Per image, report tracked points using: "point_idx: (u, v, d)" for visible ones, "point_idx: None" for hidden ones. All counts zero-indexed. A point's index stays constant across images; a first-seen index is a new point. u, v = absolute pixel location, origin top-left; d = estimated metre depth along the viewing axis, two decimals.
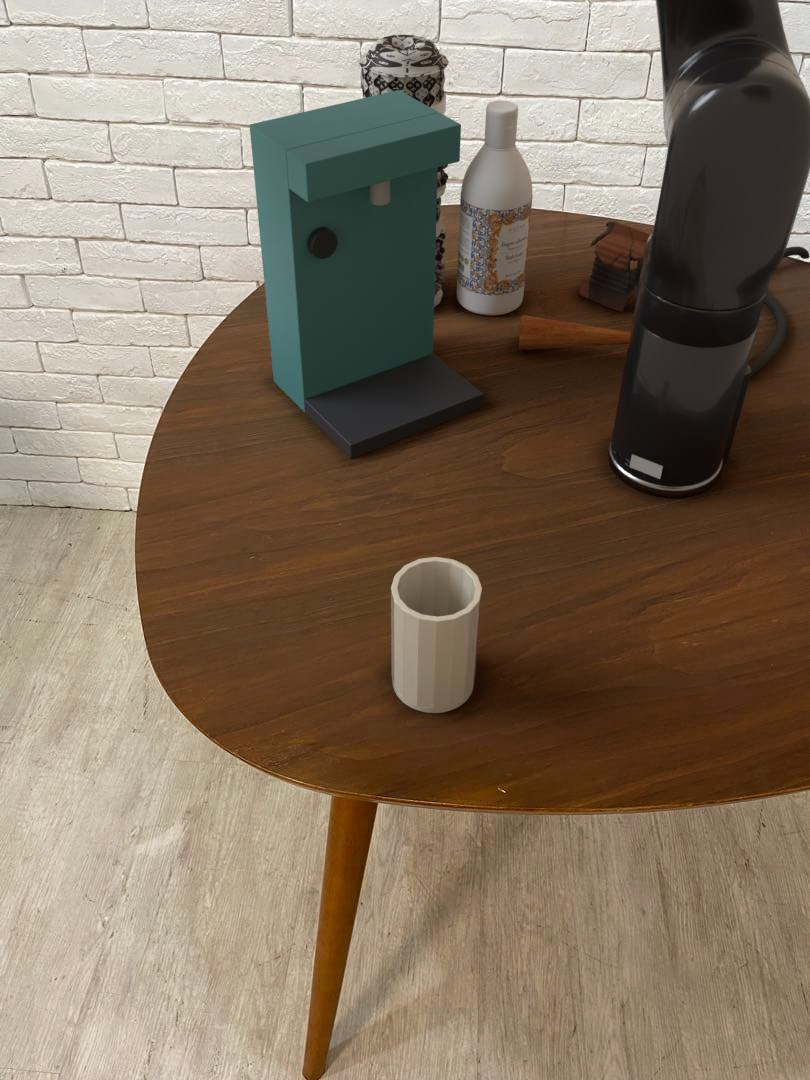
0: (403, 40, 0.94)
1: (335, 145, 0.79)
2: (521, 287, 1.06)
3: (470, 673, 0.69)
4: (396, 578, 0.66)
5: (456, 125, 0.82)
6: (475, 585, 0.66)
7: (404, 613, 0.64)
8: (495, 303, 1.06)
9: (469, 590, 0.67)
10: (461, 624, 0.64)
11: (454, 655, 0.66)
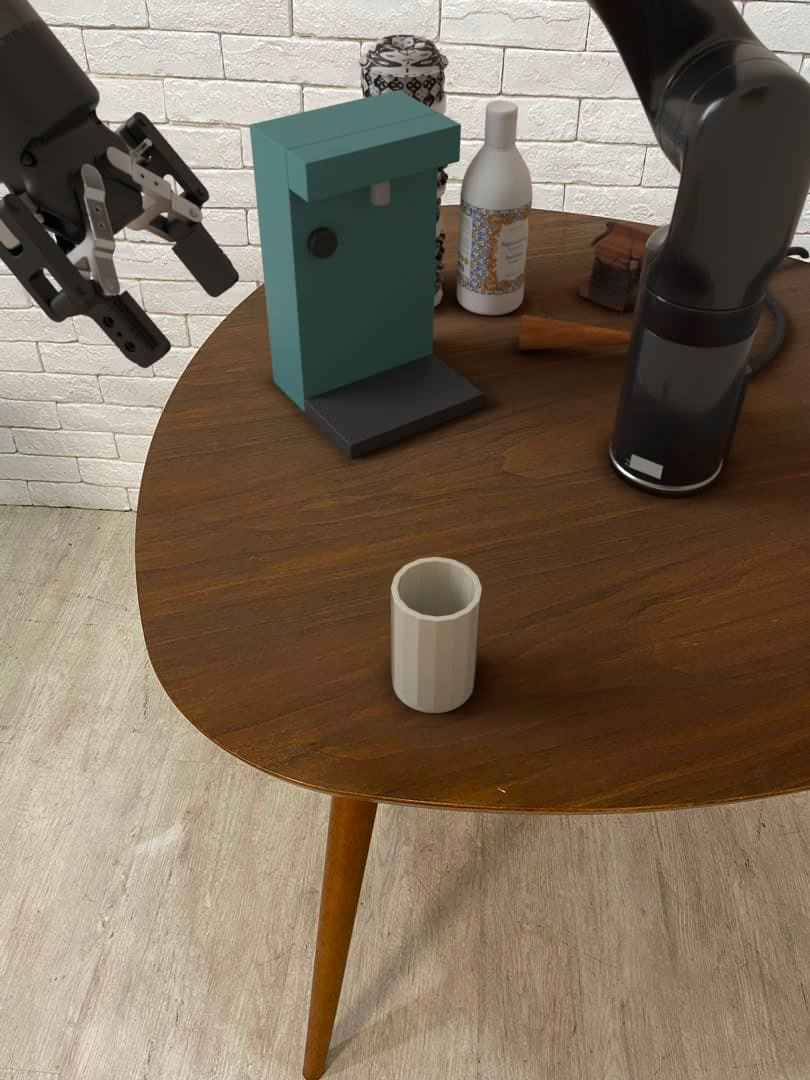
0: (403, 40, 0.94)
1: (335, 145, 0.79)
2: (521, 287, 1.06)
3: (470, 673, 0.69)
4: (396, 578, 0.66)
5: (456, 125, 0.82)
6: (475, 585, 0.66)
7: (404, 613, 0.64)
8: (495, 303, 1.06)
9: (469, 590, 0.67)
10: (461, 624, 0.64)
11: (454, 655, 0.66)
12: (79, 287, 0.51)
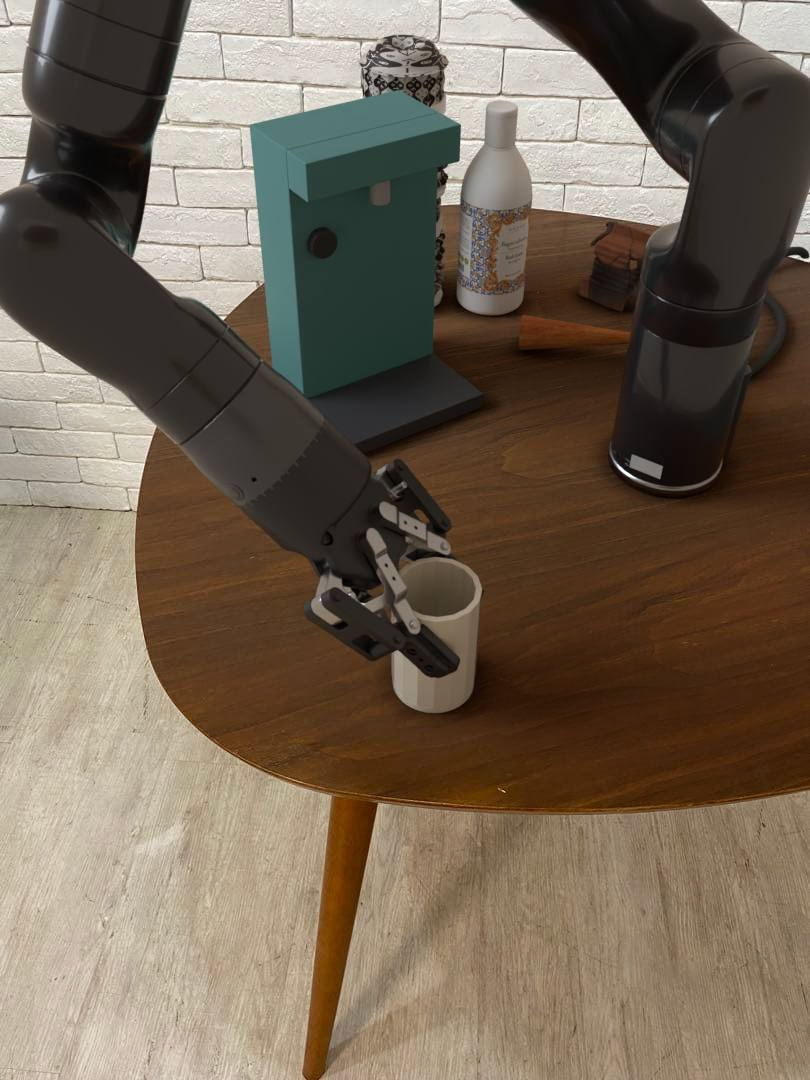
0: (403, 40, 0.94)
1: (335, 145, 0.79)
2: (521, 287, 1.06)
3: (470, 673, 0.69)
4: None
5: (456, 125, 0.82)
6: (475, 585, 0.66)
7: None
8: (495, 303, 1.06)
9: (469, 590, 0.67)
10: (461, 624, 0.64)
11: None
12: (396, 639, 0.61)
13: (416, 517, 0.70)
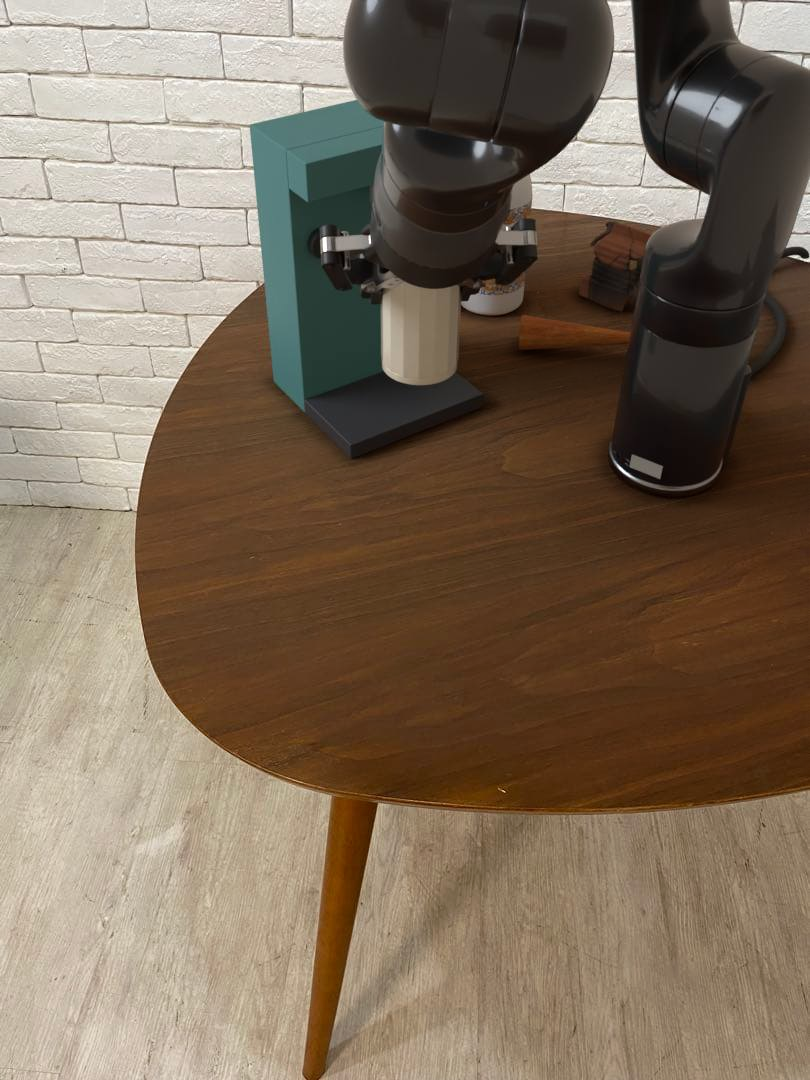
0: None
1: (335, 145, 0.79)
2: (521, 287, 1.06)
3: None
4: None
5: None
6: None
7: None
8: (495, 303, 1.06)
9: None
10: None
11: None
12: None
13: None
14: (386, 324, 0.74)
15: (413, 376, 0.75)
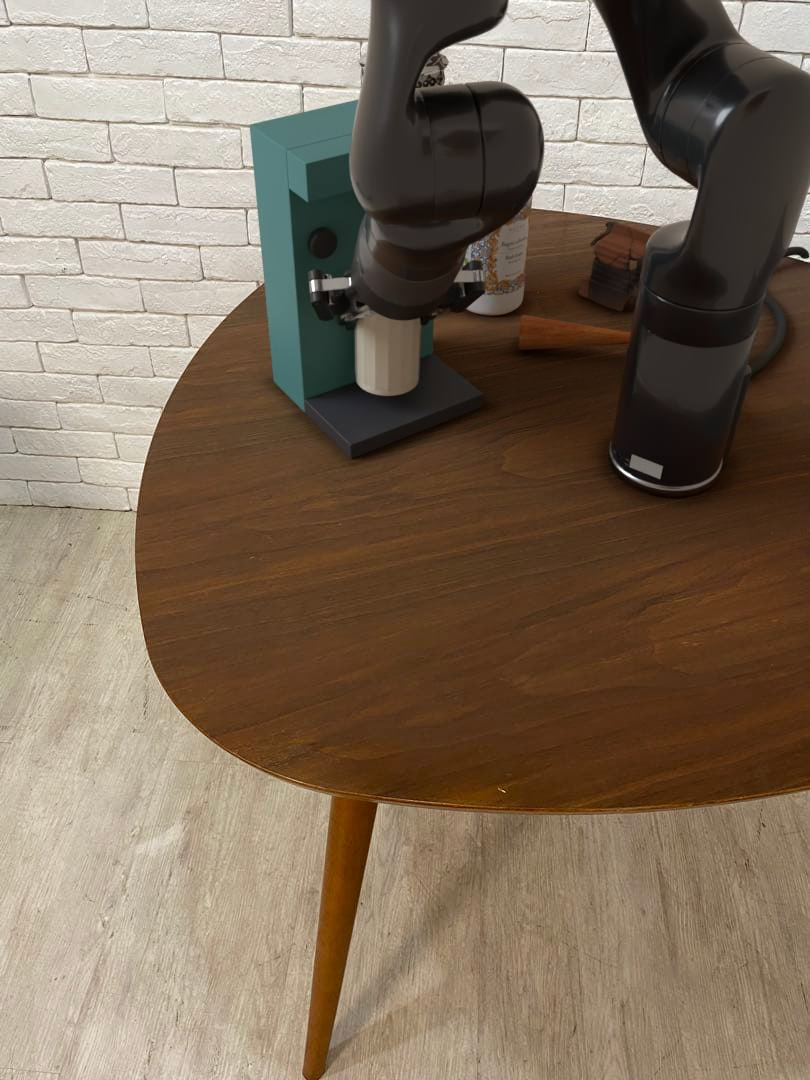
0: None
1: (335, 145, 0.79)
2: (521, 287, 1.06)
3: None
4: None
5: None
6: None
7: None
8: (495, 303, 1.06)
9: None
10: None
11: None
12: None
13: None
14: (360, 346, 0.89)
15: (383, 388, 0.90)
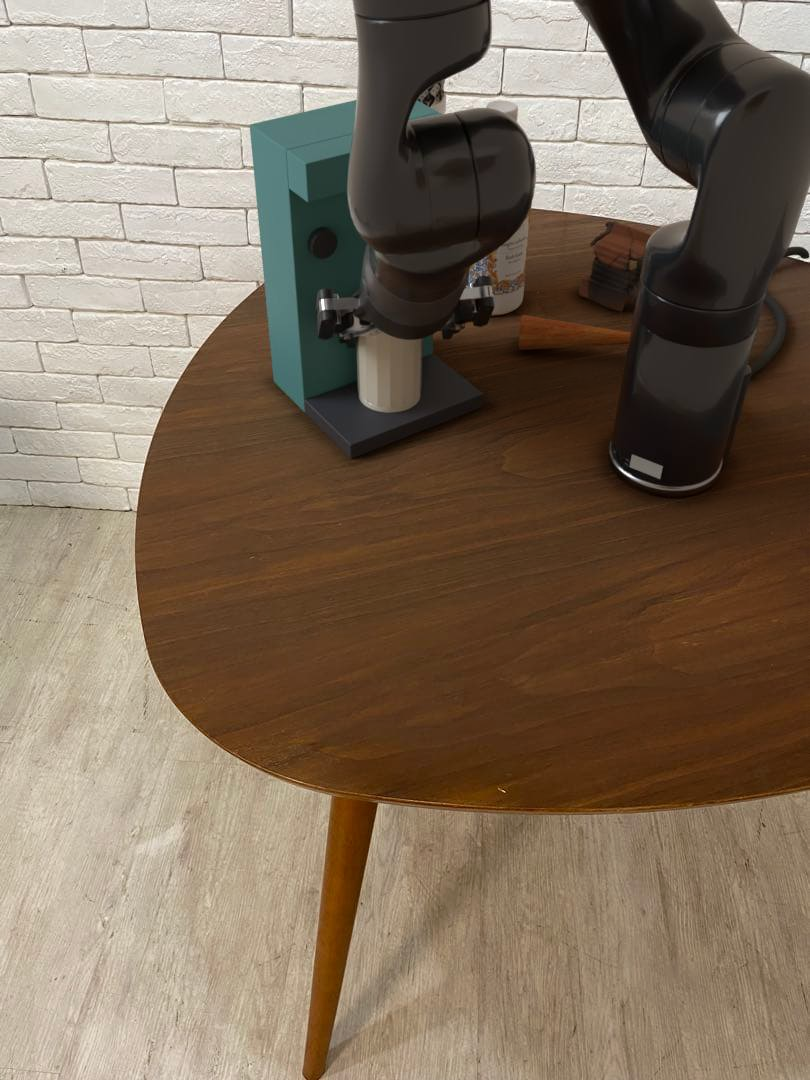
0: None
1: (335, 145, 0.79)
2: (521, 287, 1.06)
3: None
4: None
5: None
6: None
7: None
8: (495, 303, 1.06)
9: None
10: None
11: None
12: None
13: None
14: (362, 364, 0.90)
15: (386, 405, 0.92)
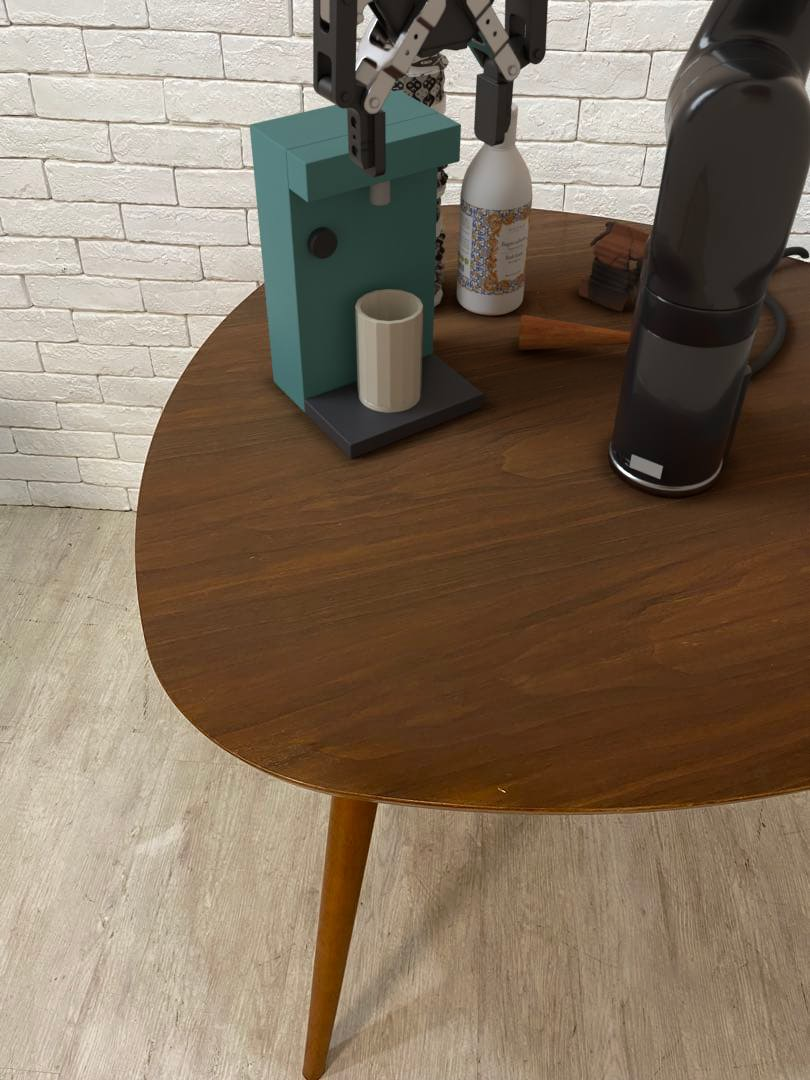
0: None
1: (335, 145, 0.79)
2: (521, 287, 1.06)
3: None
4: (392, 321, 0.86)
5: (456, 125, 0.82)
6: (374, 293, 0.90)
7: (421, 313, 0.87)
8: (495, 303, 1.06)
9: (367, 309, 0.90)
10: None
11: None
12: (343, 95, 0.55)
13: (523, 21, 0.62)
14: (362, 364, 0.90)
15: (386, 405, 0.92)
